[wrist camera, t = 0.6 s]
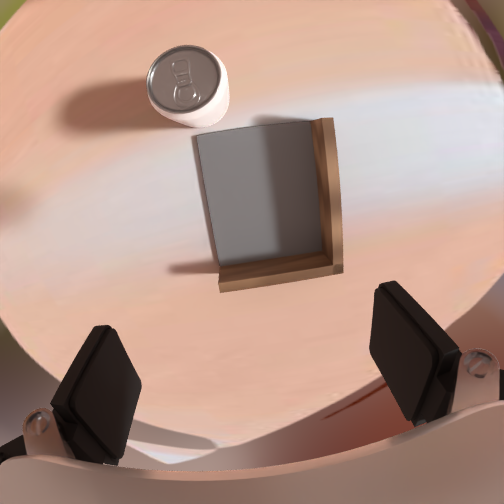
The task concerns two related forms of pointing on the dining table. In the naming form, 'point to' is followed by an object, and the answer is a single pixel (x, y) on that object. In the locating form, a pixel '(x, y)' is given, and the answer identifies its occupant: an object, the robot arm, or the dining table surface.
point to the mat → (261, 191)
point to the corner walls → (331, 229)
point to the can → (189, 86)
